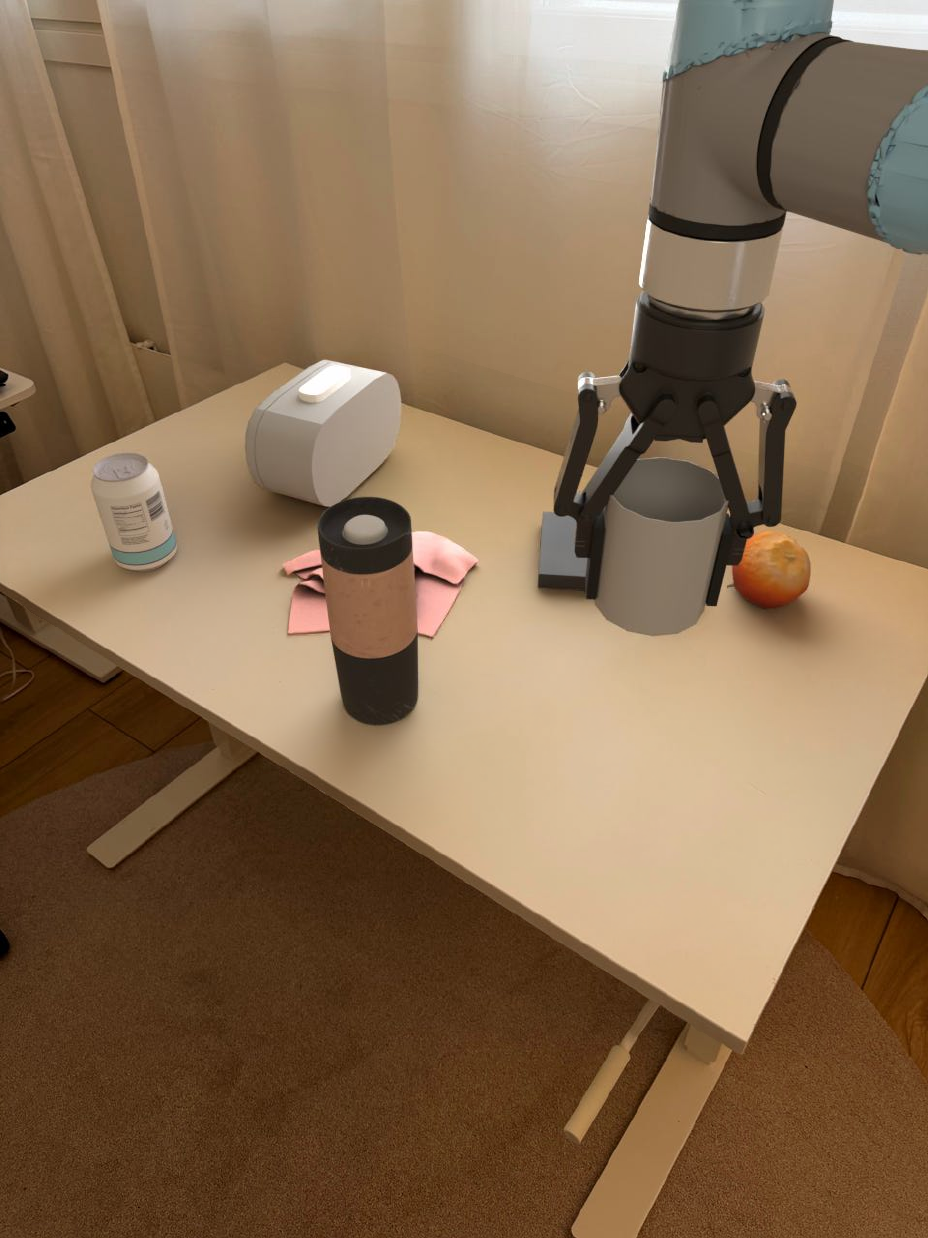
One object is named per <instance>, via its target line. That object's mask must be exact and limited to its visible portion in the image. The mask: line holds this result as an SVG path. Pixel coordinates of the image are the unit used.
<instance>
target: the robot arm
mask: <svg viewBox="0 0 928 1238" xmlns="http://www.w3.org/2000/svg"><path fill="white" fill-rule="evenodd" d="M834 3H835V0H678V2H677V4H676V5H677V6H676V9H675V14H674V20H673V25H672V31H671V37H670V42H669V46H668V52H667V58H666V62H665V69H664V71H663V72H662V74H661V84H662V88H661V99H660V110H659V122H658V132H657V142H656V153H655V161H654V169H653V176H652V177H653V179H652V188H651V196H650V198H649V200H650V201H649V205H648V212H647V213H648V214H647V222H646V229H645V236H644V243H643V250H642V257H641V258H642V259H641V266H640V272H639V279H638V284H639V286H640V288H641V290H642V291H641V292H640V294H639V295H638V296H637V297H636V302H635V310H634V317H633V326H632V333H631V341H630V348H629V355H628V356H629V357H628V359H627V362H626V363H625V365H624V367H622V369H621V371H620V372H619V375H612V376H604V377H596V375H595V374H594V372H593V373H592V371H584V372H581V374H579V375H578V377H577V402H578V410H577V412H576V416H575V419H574V423H573V426H572V428H571V433H570V436H569V439H568V441H567V445H566V449H565V452H564V456H563V458H562V462H561V465H560V468H559V471H558V475H557V478H556V482H555V485H554V488H553V503H552V504H553V511H552V512H554V513H555V514H556V515H557V516H559V517H564V516H570V517H572V518H574V519H575V520H576V530H575V540H574V552H575V554H576V557H577V558H587V567H586V576H585V583H586V591H585V600H594V601H595V600H596V594H597V586H598V578H599V570H600V562H601V554H602V546H603V538H604V530H605V524H604V507H605V506H606V504H607V503H608V502H609V500H610V495H612V496H613V494H614V493H615V491H616V490H617V488H618V487H619V486H620V484H621V483H622V481H623V480H624V478H625V477H626V475H627V474H628V472H629V471H630V470H631V468H632V467H633V465H634V464H635V462H636V461H637V459H640V456H641V455H644V454H646V453H647V451H648V449H649V448H650V447H651V445H652V443H653V442H671V441H677V440H681V441H684V442H688V443H694V444H695V443H696V444H703V442H704V440H706V442H707V446H708V450H709V451H710V455H711V457H712V461H713V465H714V468H715V470H716V473H717V476H718V477H719V480H720V483H721V486H722V489H723V493H724V496H725V499H726V501H728V511H729V513H728V512H727V514H726V519H725V523H724V527H723V531H722V535H721V539H720V543H719V548H718V552H717V556H716V561H715V565H714V569H713V574H712V578H711V582H710V587H709V591H708V595H707V600H706V605H705V607H718V602H719V599H720V596H721V595H720V594H721V591H722V586H723V582H724V577H725V574H726V569H727V566H731V567H732V566H738V564H739V563H740V562H741V561H742V557H743V553H744V549H745V545H746V541H747V540H748V539H749V538H751V537H752V536H753V535H755V529H754V528H756V527H760V526H765V527H768V528H774V527H777V526H778V525H779V524H780V523H781V521H782V509H783V489H784V488H783V487H784V468H785V446H786V445H785V443H786V430H787V428H788V426H789V424H790V421H791V419H792V417H793V415H794V413H795V410H796V408H797V400H796V397H795V395H794V392H793V389H792V387H791V385H790V383H789V382H788V380H787V379H784V378H782V379H777V380H775V381H774V382H772V383H768V382H763V381H757V380H754V378H753V371H752V370H753V365H754V362H755V356H756V352H757V348H758V343H759V338H760V334H761V330H762V325H763V321H764V316H765V306H764V305H763V303H762V302H764V301H765V300H766V299H767V297H768V296H769V295H770V289H771V285H772V281H773V276H774V271H775V267H776V262H777V257H778V253H779V248H780V244H781V238H782V234H783V229H784V225H785V222H786V217H787V212H788V213H792V214H795V215H798V216H802V217H804V218H806V219H807V218H808V219H810V220H814V221H817V222H819V223H823V224H826V225H829V226H833V227H835V228H839V229H842V230H845V231H848V232H851V233H854V234H858V235H861V236H864V237H867V238H870V239H873V240H876V241H879V242H882V243H886V244H888V245H890V247H892V248H894V249H896V250H902V251H903V252H905V253H907V254H911V255H919V256H921V255H928V49H915V48H906V47H900V46H892V45H891V46H890V45H883V44H874V43H867V42H858V41H853V40H851V39H845V38H842V37H840V36H837V35H832V34H831V32H832V28H833V23H834V22H833V20H832V17H833V9H834ZM618 397H621V399H622V401H623V402H624V404H625V405H626V407H627V408H628V410H629V411H630V414H629V415H628V417H627V419H626V420H625V423H624V427H623V429H622V430H621V432H620V433H619V435H618V436H617V438H616V439H615V441H614V443H613V444H612V446H611V447H610V449H609V450H608V452H607V453H606V455H605V456H604V458H603V459H602V461H601V463H600V464H599V466H598V467H597V468H596V470H595V472H594V473H593V474H592V476H591V478H590V479H589V481H588V482H587V484H586V485H585V487H584V489H583V490H582V491H581V490H578V489H579V486H580V483H581V480H582V477H583V473H584V472H585V471H584V470H585V467H586V464H587V462H588V458H589V455H590V453H591V449H592V446H593V443H594V440H595V437H596V433H597V430H598V427H599V426H598V425H599V415H604V414H605V413H606V412H607V411H608V410H609V409H610V407H611V405H612V404H611V403H612V401H613V400H614V399H616V398H618ZM751 402H752V403H753V404H754V405H753V406H754V411H755V414H756V416H757V418H758V419H759V428H758V429H759V430H758V432H759V433H758V462H757V463H758V464H757V465H758V467H757V468H758V469H757V499H754V500H750V501H747V499H746V497H745V495H746V494H745V493H744V488H743V486H742V485H743V484H742V481H741V479H740V476H739V471H738V468H737V465H736V462H735V458H734V455H733V452H732V449H731V445H730V442H729V438H728V435H727V431H726V427H725V426H726V425H727V424H728V423H730V421H731V420H733V418H734V417H736V416H737V415H738V414H739V413H740V412H742V410H743V409H744V408H745V407H747V405H749V404H750V403H751Z"/></svg>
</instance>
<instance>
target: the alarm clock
mask: <svg viewBox="0 0 928 1238" xmlns="http://www.w3.org/2000/svg"><path fill="white" fill-rule="evenodd" d="M401 422H402V397H401V389H400V386H399V382H398V380H397V379H396V377H395V376H394V375H393V374H390V373H388V372H385V371H380V370H375V369H371V368H367V367H361V366H358V365H352V364H347V363H343V362H339V361H335V360H329V359H322V360H320V361H317V362H316V363H314V364H312V365H310V366H308V367H307V368H305V369H304V370H302V371H301V372H300V373H298V374H297V375H295V376H294V377H292V378H291V379H290V380H288V381H287V382H285V383H284V384H283V385H281V386H280V387H278V388H277V389H275V391H273V392H271V393H270V394H269V395H268V396H267V397H266V398H264V400H262V402H260V403H259V404H258V405H257V406H256V407H255V408H254V409H253V411H252V413H251V415H250V417H249V419H248V421H247V425H246V426H247V427H246V430H245V436H244V441H245V442H244V452H245V460H246V464H247V467H248V472H249V474H250V476H251V478H252V480H253V482H254V483H255V484H256V485H257V486H258V487H260V488H261V489H262V490H266V491H269V492H273V493H277V494H280V495H283V496H287V497H291V498H293V499H298V500H300V501H305V502H308V503H311V504H315V505H319V506H321V507H328V508H329V507H331V506H332V505H334V504H336V503H339V502H341V501H344V500H345V499H346V498H347V497H348V496H349V495H351V493H353V492H354V490H356V489H357V488H358V487H359V486H360V485H361V484H362V483H363V482H365V480H366V479H367V478H368V477H370V475H372V474H373V473H374V472H375V471H376V470H377V469H378V468H379V467H380V466H381V465H382V464H383V463H384V461H385V460H386V459H387V458H388V457H389V456H390V454H391V453H392V452H393V450H394V447H395V446H396V443H397V441H398V438H399V434H400V429H401Z"/></svg>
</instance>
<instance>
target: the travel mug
mask: <svg viewBox="0 0 928 1238" xmlns="http://www.w3.org/2000/svg"><path fill="white" fill-rule="evenodd" d="M317 521H318V522H317V535H318V536H317V537H318V545H319V549H320V554H321V562H322V571H323V579H324V587H325V595H326V603H327V611H328V619H329V627H330V631H329V635H330V641H331V645H332V653H333V658H334V663H335V670H336V674H337V679H338V686H339V690H340V696H341V701H342V704H343V708H344V710H345V711H346V713H347V715H349V716H350V717H351V718H352V719H353V720H355V721H357V722H359V723H362V724H364V725H369V726H386V725H391V724H395V723H396V722H397V723H398V722H399V721H401V720H403V719H405V718H406V717H407V716H409V715H410V714H411V713H412V712H413V710H414V709H415V707H416V705H417V703H418V699H419V634H418V623H417V608H416V592H415V576H414V560H413V545H412V533H413V529H412V518H411V515H410V513H409V511H407V509H406V508H405V507H404V506H402V505H401V504H400V503H398V502H396V501H394V500H391V499H388V498H384V497H377V496H359V497H352V498H351V497H350V498H348V499H343V500H341V501H340V502H339V503H336V504H334V505H332V506H331V507H329V506H328V508H327V509H326V510H324V511H323V512H322V513H321V515H320V517H319V519H318V520H317Z"/></svg>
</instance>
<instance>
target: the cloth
mask: <svg viewBox="0 0 928 1238" xmlns="http://www.w3.org/2000/svg"><path fill="white" fill-rule="evenodd" d="M412 545H413V560H414V576H415V592H416V608H417V623H418V635H422V636H426V637H430V638H434V637H435V635H436V634H437V632H438V630H439V628H440V627H441V625H442V624H443V622H444V620H445V618H446V617H447V615H448V613H449V612H450V611H451V609H452V607H453V605H454V603H455V602H456V599H457V597H458V595H459V593H460V592H461V590H462V588H463V586H464V584H465V577H466V575H467V574H468V572H469V570H471V569H472V567H474V565H477V563H478V562H480V560H479V559H478V558H476V557H475V556H474V555H472V554H471V553H469V552H468V551H467V550H466V549H465V548H464V547H462V546H460V544H457V543H455V542H453V541H452V540H450V539H449V538H447V537H445V536H442V535H439V534H437V533H434V532H432V531H429V530H427V531H426V530H419V531H413V532H412ZM282 566H283V568H284V570H285V572H286V575H287V576H290V575H291V574H295V576H298V577H300V578H301V579H303V580H305V581H302V582H301V581H300V582H298V583H297V584H296V585H295V586H294V588H293V591H292V597H291V603H290V604H291V605H290V613H289V620H288V630H287V631H288V632H287V634H288V635H292V634H305V633H306V634H309V633H321V632H330V627H329V619H328V611H327V603H326V595H325V587H324V579H323V571H322V562H321V554H320V548H319V549H315V550H310V551H308V552H306V553H303V554H301V555H300V556H298V557H296V558H293V559H291V560H288V561H286V562H283V563H282ZM315 576H319V577H316V578H315V579H311V580H309V579H310V578H313V577H315Z"/></svg>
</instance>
